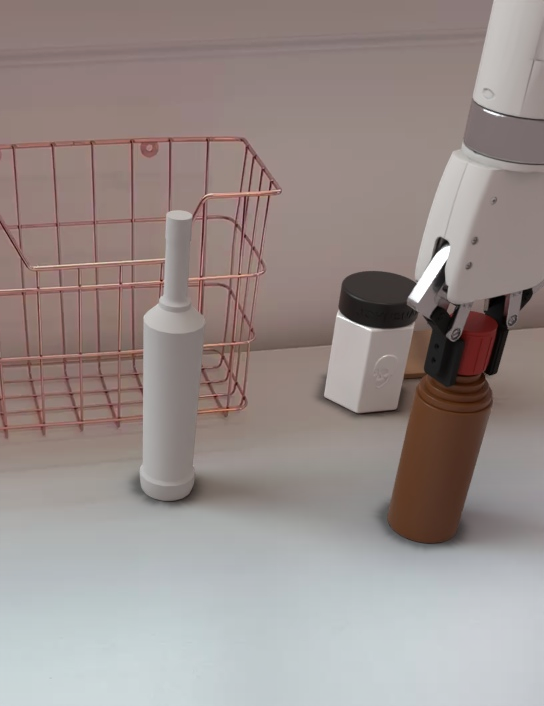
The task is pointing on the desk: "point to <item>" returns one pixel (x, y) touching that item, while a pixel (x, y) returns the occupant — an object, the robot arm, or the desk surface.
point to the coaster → (417, 354)
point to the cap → (477, 343)
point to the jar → (371, 341)
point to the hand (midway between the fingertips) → (460, 371)
